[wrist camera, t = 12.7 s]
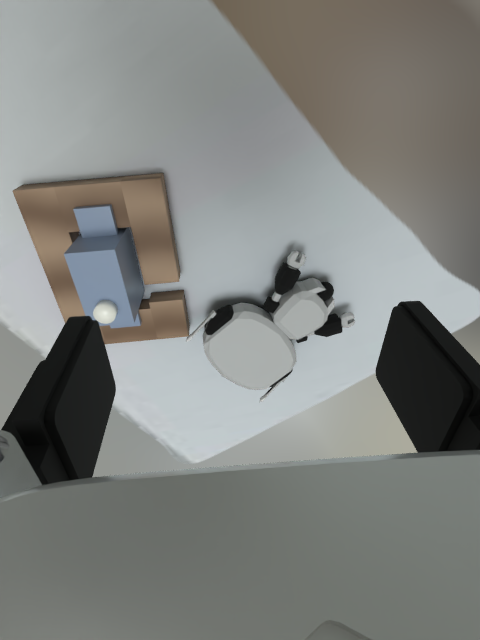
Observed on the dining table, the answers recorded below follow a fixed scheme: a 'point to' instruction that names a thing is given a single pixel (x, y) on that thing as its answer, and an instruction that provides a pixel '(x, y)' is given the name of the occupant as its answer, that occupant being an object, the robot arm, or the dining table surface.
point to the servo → (105, 268)
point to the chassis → (130, 211)
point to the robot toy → (270, 329)
